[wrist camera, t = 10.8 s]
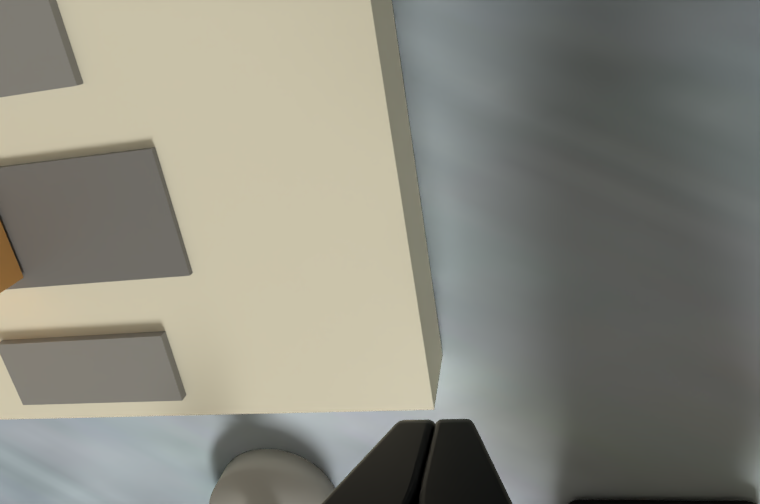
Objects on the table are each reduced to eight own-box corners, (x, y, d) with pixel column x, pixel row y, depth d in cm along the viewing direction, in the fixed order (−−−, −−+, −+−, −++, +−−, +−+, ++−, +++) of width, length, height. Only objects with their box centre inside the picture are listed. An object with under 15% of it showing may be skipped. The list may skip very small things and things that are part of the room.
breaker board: (376, -102, 17) (349, -115, 14) (442, 355, 22) (433, 416, 19) (-259, 27, 22) (-379, 38, 19) (-81, 376, 27) (-152, 427, 24)
